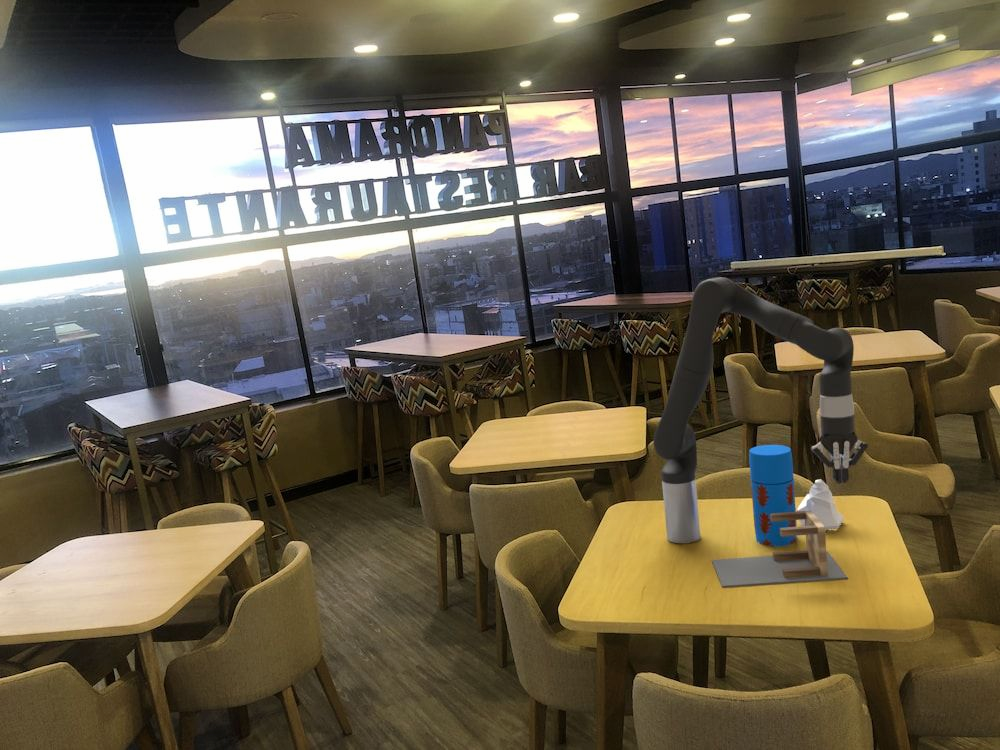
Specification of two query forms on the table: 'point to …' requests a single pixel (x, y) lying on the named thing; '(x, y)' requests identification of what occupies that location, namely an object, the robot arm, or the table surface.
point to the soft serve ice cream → (821, 506)
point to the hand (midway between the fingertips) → (841, 482)
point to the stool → (813, 543)
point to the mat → (769, 571)
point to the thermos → (772, 492)
